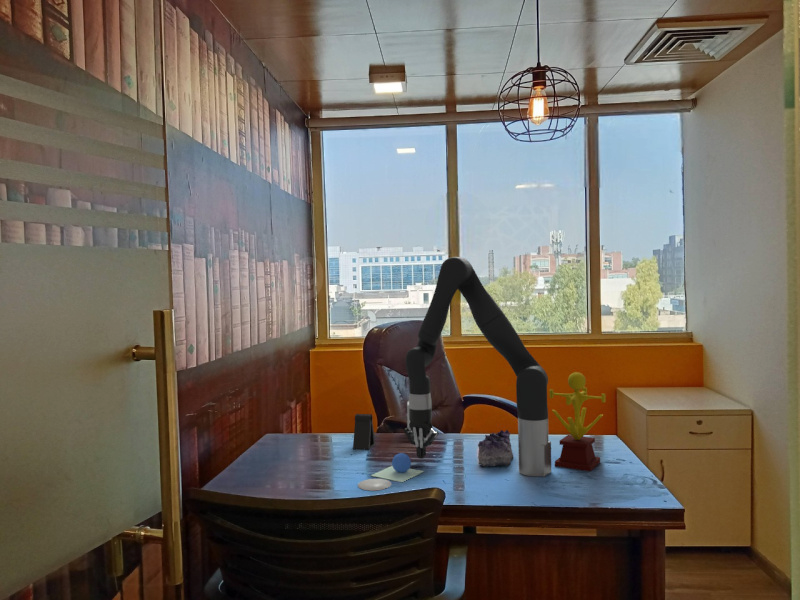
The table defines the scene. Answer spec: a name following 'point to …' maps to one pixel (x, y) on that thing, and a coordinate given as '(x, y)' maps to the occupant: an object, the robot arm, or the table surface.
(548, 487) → the table surface
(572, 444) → the trophy
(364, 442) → the phone stand
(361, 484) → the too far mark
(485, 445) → the geode
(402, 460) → the ball
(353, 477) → the table surface
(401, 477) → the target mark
